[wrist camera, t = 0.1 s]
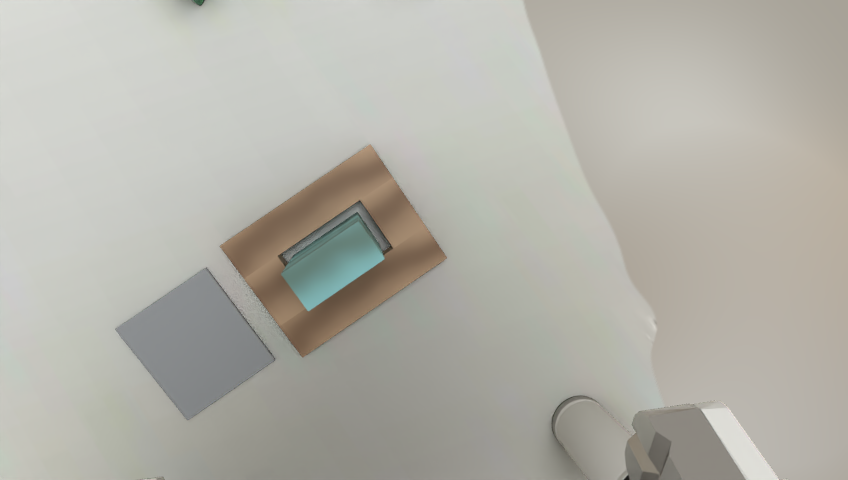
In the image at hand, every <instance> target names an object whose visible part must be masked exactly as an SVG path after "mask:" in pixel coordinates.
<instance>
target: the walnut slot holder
mask: <svg viewBox="0 0 848 480" xmlns="http://www.w3.org/2000/svg"><path fill="white" fill-rule="evenodd" d="M359 200H360V201H361V202H362V204H363V205H364V206H365V208H366V209H367V211H368V212H369V214H370V215H371V217H372V218H373V219H374V221H375V222H376V224H377V225H378V227H379V228H380V230H381V231H382V233H383V234H384V235H385V237H386V238H387V240H388V241H389V243H390V244H391V246H390V247H389V248H388V249H386V250H385V251H383V252H382V253H383V255H384V258H385V259H384V260H383V261H381V262H380V263H378V264H377V265H375V266H374V267H373V268H371V269H370V270H368V271H367V272H365V273H364V274H362V275H361V276H359V277H358V278H356V279H355V280H354V281H352V282H351V283H349V284H348V285H346V286H345V287H343V288H342V289H340V290H339V291H337V292H336V293H335V294H333V295H332V296H330V297H329V298H327V299H326V300H324V301H323V302H321V303H320V304H319V305H317V306H316V307H314V308H313V309H311V310H310V311H307V309H306V308H305V306H304V305H303V304H302V302H301V301H300V300H299V298H298V297H297V296H296V294H295V293H294V291H293V290H292V289H291V287H290V286H289V285H288V283H287V282H286V280H285V279H284V278H283V276H282V275H281V273H282V272H283V270H284V269H285V267H286V266H287V264H288V263H287V262H286V260H285V259H284V257H283V256H282V255H281V253H283V252H284V251H286V250H287V249H288V248H290V247H291V246H293V245H294V244H296V243H297V242H299V241H300V240H302V239H303V238H305V237H306V236H308V235H309V234H311V233H312V232H313V231H315V230H316V229H318V228H319V227H321V226H322V225H324V224H325V223H327V222H328V221H330V220H331V219H333V218H334V217H336V216H337V215H338V214H340V213H341V212H343V211H344V210H346V209H347V208H349V207H350V206H352V205H353V204H355V203H356V202H358V201H359ZM220 247H221V248H222V250H223V251H224V252H225V254H226V255H227V257H228V258H229V259H230V261H231V262H232V263H233V265H234V266H235V267H236V269H237V270H238V271H239V273H240V274H241V275H242V277H243V278H244V279H245V281H246V282H247V283H248V285H249V286H250V287H251V289H252V290H253V292H254V293H255V294H256V296H257V297H258V298H259V300H260V301H261V302H262V304H263V305H264V306H265V308H266V309H267V310H268V312H269V313H270V314H271V316H272V317H273V318H274V320H275V321H276V322H277V324H278V325H279V327H280V328H281V329H282V331H283V332H284V333H285V335H286V336H287V337H288V339H289V340H290V341H291V343H292V344H293V345H294V347H295V348H296V349H297V351H298V352H299V353H300V355H301V356H302V357H304V356H305V355H307V354H308V353H310V352H311V351H313V350H314V349H316V348H317V347H319V346H320V345H321V344H323V343H324V342H326V341H327V340H329V339H330V338H332V337H333V336H335V335H336V334H337V333H339V332H340V331H342V330H343V329H345V328H346V327H348V326H349V325H351V324H352V323H353V322H355V321H356V320H358V319H359V318H361V317H362V316H364V315H365V314H367V313H368V312H369V311H371V310H372V309H374V308H375V307H377V306H378V305H380V304H381V303H382V302H384V301H385V300H387V299H388V298H390V297H391V296H393V295H394V294H396V293H397V292H398V291H400V290H401V289H403V288H404V287H406V286H407V285H409V284H410V283H412V282H413V281H414V280H416V279H417V278H419V277H420V276H422V275H423V274H425V273H426V272H428V271H429V270H430V269H432V268H433V267H435V266H436V265H438V264H439V263H441V262H442V261H444V260H445V259H446V258H447V257H446V256H445V254H444V253H443V251H442V250H441V248H440V247H439V245H438V244H437V242H436V241H435V240H434V238H433V237H432V235H431V234H430V232H429V231H428V229H427V228H426V226H425V225H424V223H423V222H422V220H421V219H420V217H419V216H418V214H417V213H416V211H415V210H414V208H413V207H412V205H411V204H410V202H409V201H408V199H407V198H406V196H405V195H404V193H403V192H402V191H401V189H400V188H399V186H398V185H397V183H396V182H395V180H394V179H393V177H392V176H391V174H390V173H389V171H388V170H387V168H386V167H385V165H384V164H383V162H382V161H381V159H380V158H379V156H378V155H377V153H376V152H375V150H374V149H373V147H372V146H371V144H370V145H368V146H367V147H365V148H364V149H363V150H361V151H360V152H358V153H357V154H355V155H354V156H352V157H351V158H349V159H348V160H346V161H345V162H343V163H342V164H340V165H339V166H337V167H336V168H334V169H333V170H331V171H330V172H328V173H327V174H326V175H324V176H323V177H321V178H320V179H318V180H317V181H315V182H314V183H312V184H311V185H309V186H308V187H306V188H305V189H303V190H302V191H300V192H299V193H297V194H296V195H294V196H293V197H292V198H290V199H289V200H287V201H286V202H284V203H283V204H281V205H280V206H278V207H277V208H275V209H274V210H272V211H271V212H269V213H268V214H266V215H265V216H263V217H262V218H260V219H259V220H257V221H256V222H255V223H253V224H252V225H250V226H249V227H247V228H246V229H244V230H243V231H241V232H240V233H238V234H237V235H235V236H234V237H232V238H231V239H229V240H228V241H226V242H225V243H223V244H222V245H220Z"/></svg>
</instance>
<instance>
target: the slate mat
mask: <svg viewBox="0 0 848 480" xmlns="http://www.w3.org/2000/svg"><path fill="white" fill-rule="evenodd" d="M115 330H116V331H117V333H118V334H119V335H120V336H121V338H122V339H123V340H124V341H125V343H126V344H127V345H128V346H129V348H130V349H131V350H132V351H133V353H134V354H135V355H136V356H137V358H138V359H139V360H140V362H141V363H142V364H143V365H144V367H145V368H146V369H147V370H148V372H149V373H150V374H151V375H152V377H153V378H154V379H155V380H156V382H157V383H158V384H159V385H160V387H161V388H162V389H163V390H164V392H165V393H166V394H167V395H168V397H169V398H170V399H171V400H172V402H173V403H174V404H175V405H176V407H177V408H178V409H179V410H180V412H181V413H182V414H183V415H184V417H185V418H186V419H187V420H189V419H190V418H192V417H193V416H195V415H196V414H197V413H199V412H200V411H202V410H203V409H205V408H206V407H208V406H209V405H211V404H212V403H213V402H215V401H216V400H218V399H219V398H221V397H222V396H224V395H225V394H227V393H228V392H230V391H231V390H232V389H234V388H235V387H237V386H238V385H240V384H241V383H243V382H244V381H246V380H247V379H248V378H250V377H251V376H253V375H254V374H256V373H257V372H259V371H260V370H262V369H263V368H264V367H266V366H267V365H269V364H270V363H272V362H273V361H275V358H274V357H273V355H272V354H271V353H270V351H269V350H268V349H267V347H266V346H265V345H264V343H263V342H262V341H261V339H260V338H259V337H258V335H257V334H256V333H255V331H254V330H253V329H252V327H251V326H250V325H249V324H248V322H247V321H246V320H245V318H244V317H243V316H242V314H241V313H240V312H239V310H238V309H237V308H236V306H235V305H234V304H233V302H232V301H231V300H230V298H229V297H228V296H227V294H226V293H225V292H224V290H223V289H222V288H221V286H220V285H219V284H218V282H217V281H216V280H215V278H214V277H213V276H212V274H211V273H210V272H209V270H208V269H207V268H205V269H203V270H202V271H200V272H199V273H198V274H196V275H195V276H193V277H192V278H190V279H189V280H187V281H186V282H184V283H183V284H181V285H180V286H178V287H177V288H175V289H174V290H172V291H171V292H169V293H168V294H167V295H165V296H164V297H162V298H161V299H159V300H158V301H156V302H155V303H153V304H152V305H150V306H149V307H147V308H146V309H144V310H143V311H141V312H140V313H138V314H137V315H135V316H134V317H133V318H131V319H130V320H128V321H127V322H125V323H124V324H122V325H121V326H119V327H118V328H116V329H115Z"/></svg>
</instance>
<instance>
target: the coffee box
mask: <svg viewBox="0 0 848 480" xmlns="http://www.w3.org/2000/svg"><path fill="white" fill-rule="evenodd" d="M192 1H193V2H195V3H196V4H198V5H200V6H201V5H202V3H203V1H204V0H192Z"/></svg>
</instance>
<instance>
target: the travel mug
mask: <svg viewBox="0 0 848 480" xmlns="http://www.w3.org/2000/svg"><path fill="white" fill-rule="evenodd" d="M552 428H553V432H554V435H555V437H556V438H557V440H558V441H559V442H560V444H561V445H562V446H563V448H564V449H565V450H566V451H567V453H568V454H569V455H570V457H571V458H572V459H573V461H574V462H575V463H576V464H577V466H578V467H579V468H580V470H581V471H582V472H583V473H584V475H585V476H586V477H587V479H588V480H630V479H629V475H628V472H627V469H626V462H625V448H626V444H627V440H628V439H629V438H631V437H632V436H633V435H632V434H631V433H630V432H629V431H627V430H626V429H625V428H624V427H623V426H622V425H621V424H620V423H619V422H618V421H617V420H616V419H615V418H614V417H612V416H611V415H610V414H609V413H608V412H607V411H606V410H605V409H604V408H603V407H602V406H601V405H600V404H599V403H597V402H596V401H595V400H593V399H592V398H589V397H586V396H576V397H572V398H570V399H568V400H566V401H564V402H563V403H562V404H561V405H560V406H559V407H558V408H557V410H556V412H555V414H554V416H553V421H552Z"/></svg>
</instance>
